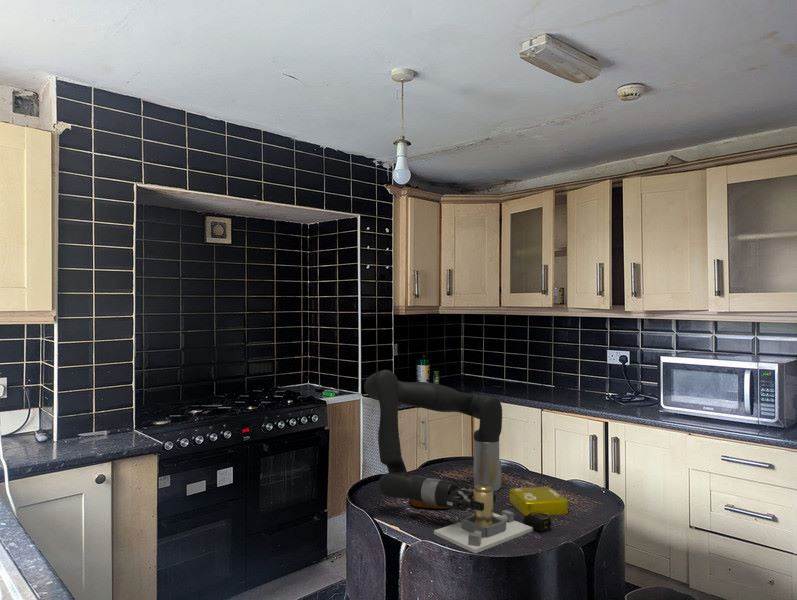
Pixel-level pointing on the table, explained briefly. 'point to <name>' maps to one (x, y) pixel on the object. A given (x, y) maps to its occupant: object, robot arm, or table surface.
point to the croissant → (424, 504)
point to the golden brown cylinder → (486, 496)
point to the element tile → (538, 500)
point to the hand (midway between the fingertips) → (489, 502)
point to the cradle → (483, 532)
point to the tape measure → (538, 521)
